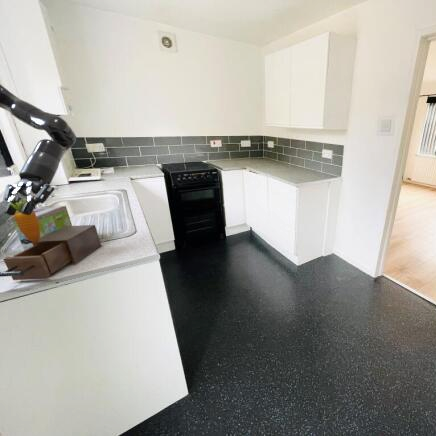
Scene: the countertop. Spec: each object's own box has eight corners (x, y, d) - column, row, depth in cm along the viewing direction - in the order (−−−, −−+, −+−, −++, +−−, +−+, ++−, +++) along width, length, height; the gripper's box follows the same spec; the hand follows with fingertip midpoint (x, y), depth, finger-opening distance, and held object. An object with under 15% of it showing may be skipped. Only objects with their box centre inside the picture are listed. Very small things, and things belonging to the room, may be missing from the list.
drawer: (33, 287, 74) (23, 265, 71) (-4, 289, 73) (-15, 267, 70) (78, 258, 91) (72, 239, 88) (49, 259, 90) (41, 240, 88)
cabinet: (75, 264, 89) (66, 240, 85) (41, 265, 88) (31, 241, 85) (101, 246, 102) (95, 224, 99) (72, 247, 102) (64, 226, 98)
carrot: (22, 248, 77) (2, 203, 72) (30, 242, 82) (12, 198, 77) (42, 245, 79) (24, 201, 74) (49, 239, 84) (33, 197, 78)
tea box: (52, 250, 100) (38, 215, 94) (23, 252, 98) (8, 217, 93) (76, 235, 113) (66, 204, 108) (52, 236, 112) (40, 206, 107)
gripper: (71, 174, 85) (50, 219, 78) (30, 175, 85) (7, 219, 78) (51, 161, 78) (27, 208, 71) (7, 161, 79) (-21, 208, 72)
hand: (17, 213), depth 75 cm, fingers closed on carrot, 4 cm apart
